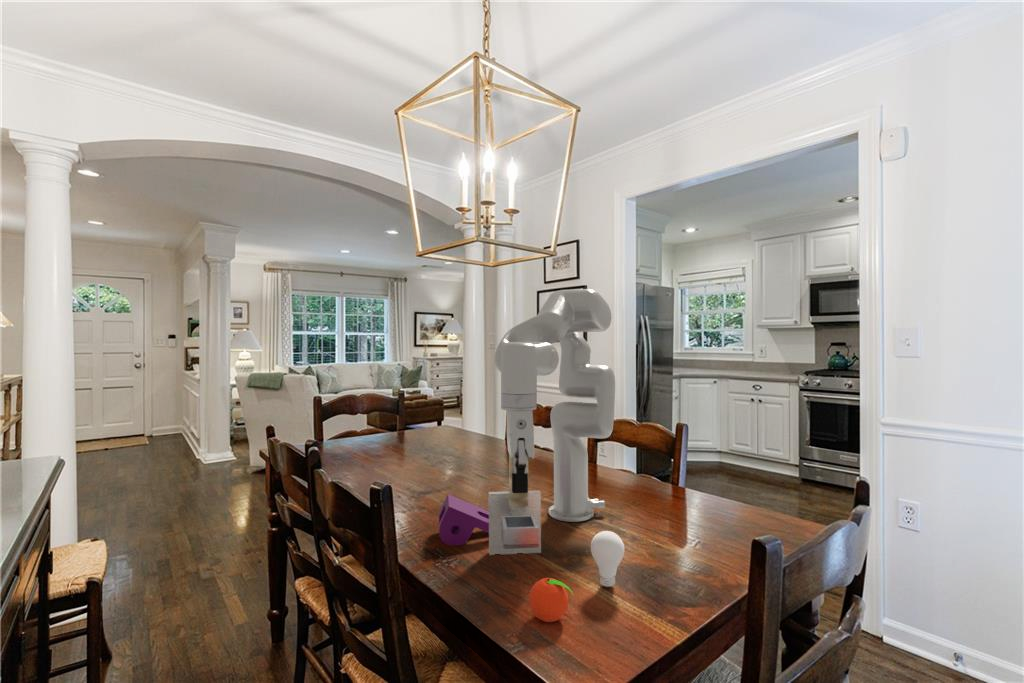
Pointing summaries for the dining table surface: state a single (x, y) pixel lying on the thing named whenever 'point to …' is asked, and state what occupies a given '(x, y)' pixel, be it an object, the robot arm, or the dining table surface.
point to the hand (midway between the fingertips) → (518, 488)
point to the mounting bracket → (460, 520)
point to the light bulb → (607, 555)
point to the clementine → (549, 599)
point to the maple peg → (516, 498)
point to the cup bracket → (514, 524)
